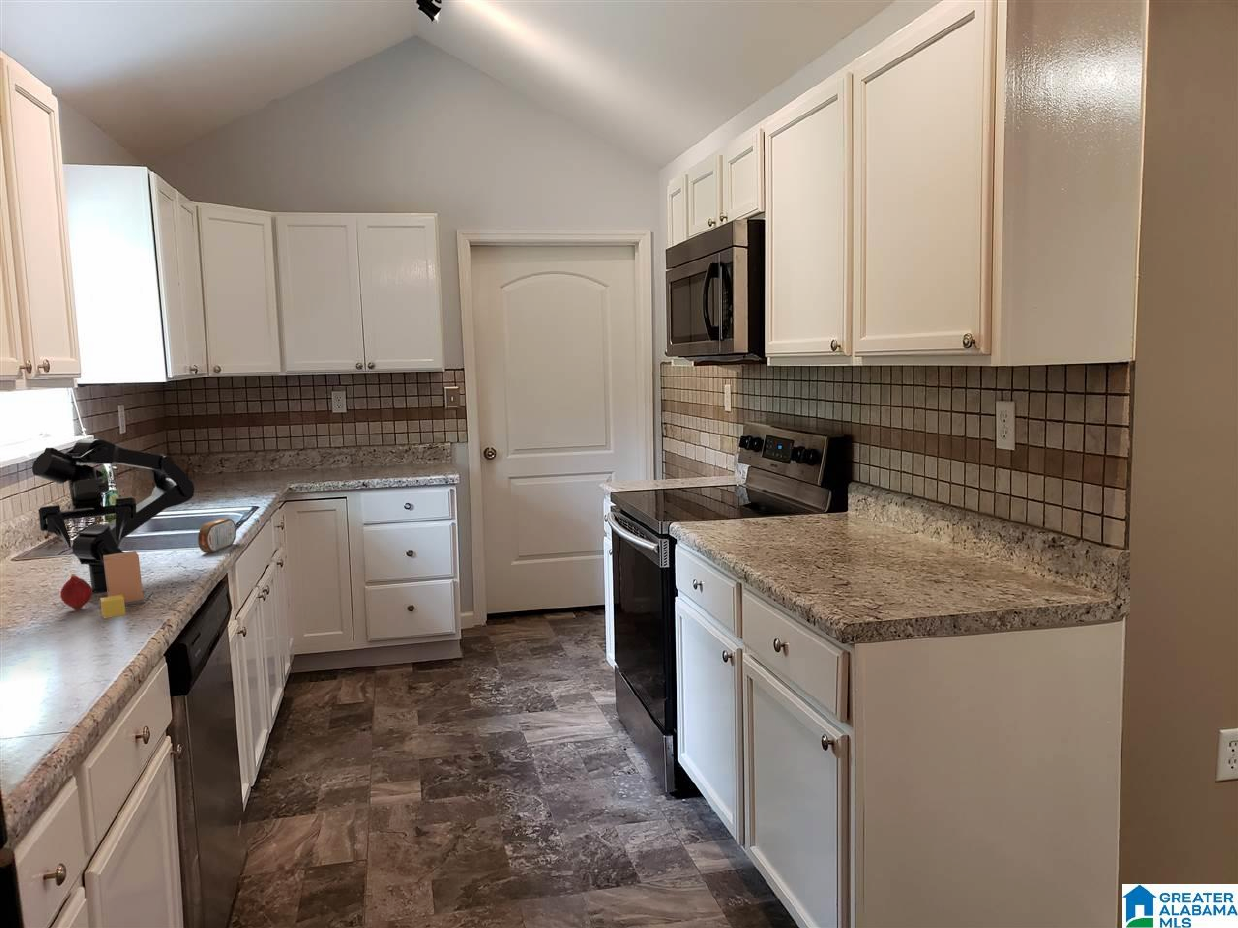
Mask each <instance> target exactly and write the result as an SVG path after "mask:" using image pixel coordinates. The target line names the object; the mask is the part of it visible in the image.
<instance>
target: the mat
mask: <svg viewBox="0 0 1238 928" xmlns="http://www.w3.org/2000/svg"><path fill="white" fill-rule="evenodd" d="M152 593H153V594H154V592H153V591H148V592H143V598H144V599H143V600H137V601H131V602H126V603H124V606H129V605H130V606H131V605H142V604H145V603H146V602H147V600H148V599H150V597H151V596H152V595H151V594H152ZM150 595H151V596H150ZM149 596H150V597H149ZM97 609H101V604H99V606H97Z"/></svg>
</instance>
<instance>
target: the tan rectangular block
mask: <svg viewBox="0 0 1238 928" xmlns="http://www.w3.org/2000/svg"><path fill="white" fill-rule="evenodd" d="M103 560H104V569H105V577H106V585H107V591H106V593H107V597H111V596H117V595H122V596H123V598H124V603H126V602H131V601H137V600H143V599H144V598H143V593H144V590H143V589H144V588H143V581H142V573H141V566H140V565H141V564H140V555H139V554H138V553H137V551H136V550H129V551H123V553H116V554H109V555H103Z"/></svg>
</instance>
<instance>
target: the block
mask: <svg viewBox="0 0 1238 928" xmlns="http://www.w3.org/2000/svg"><path fill="white" fill-rule="evenodd" d="M99 601H100V605H101V608H100V609H101V615H102V617H103V618H104V619H106V618H111V617H117V616H123V615H126V607H125V606H126V605H124V598H123V596H122V595H117V596H111V597H108V596H105V597H100V600H99Z"/></svg>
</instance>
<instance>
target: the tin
mask: <svg viewBox="0 0 1238 928" xmlns="http://www.w3.org/2000/svg"><path fill="white" fill-rule="evenodd" d="M236 525H237V524H236V523H235V521H234V519H232V518H225V517H219V518H217V519H214V520H211V521H207V522H205V523H204V524H203V525H202V526H201V527H200V529H199V532H198V537H197V543H198V547H199V549H200V551H201V552H203V553H205V554H206V553H207V554H208V553H211V554H212V553H217V552H219V551H222V550H225V549H226V548H229V547H231V546H232V545H233V544H234V543H235V541H236V537H237V527H236Z"/></svg>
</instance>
